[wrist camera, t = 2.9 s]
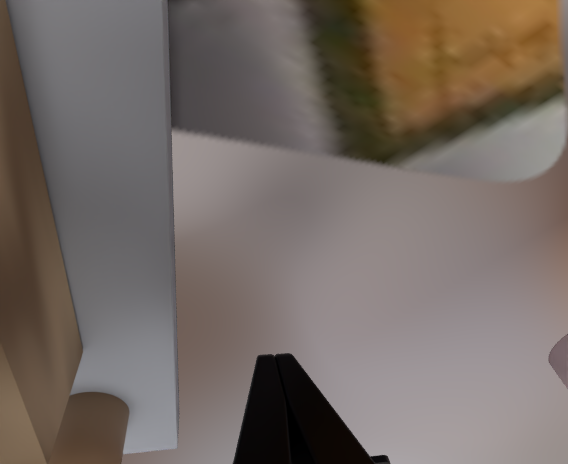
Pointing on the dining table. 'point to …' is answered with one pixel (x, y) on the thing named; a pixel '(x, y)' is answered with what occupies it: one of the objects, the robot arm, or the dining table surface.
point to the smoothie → (560, 359)
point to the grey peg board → (109, 212)
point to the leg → (29, 283)
